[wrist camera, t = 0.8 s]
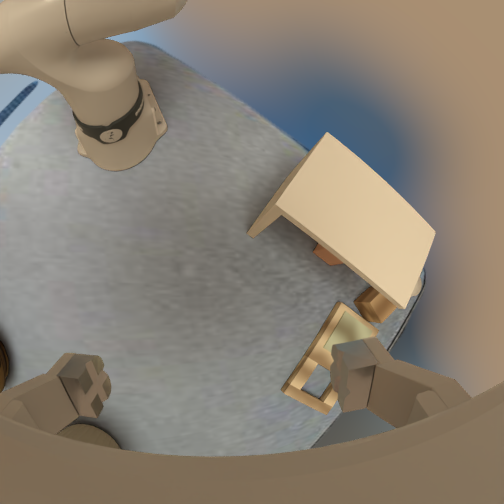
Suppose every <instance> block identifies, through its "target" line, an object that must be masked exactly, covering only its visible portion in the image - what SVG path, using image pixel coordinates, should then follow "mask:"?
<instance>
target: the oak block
mask: <svg viewBox="0 0 504 504" xmlns="http://www.w3.org/2000/svg"><path fill="white" fill-rule="evenodd" d="M354 304H355V305H356V307H357V309H358V310H359V312H360V314H361V315H362V317H363V319H365V320H366V321H369V322H376V323H382V322H383V321H384V320H385V319H386V318H387V317H388V316H389V315H390V314H391V313H392V312H393V311H394V310H395V309H396V308H397V307H396V306H395V305H394V304H393V303H392V302H390V301H389V300H388V299H387V298H386V297H384V296H383V295H382V294H381V293H380V292H378V291H377V290H376V289H375V288H374V287H369V288H368V289H367V290H366V291H365V292H363V293H362V294H361V295H360V296H359V297H358V298H357V299H356V300H355V301H354Z"/></svg>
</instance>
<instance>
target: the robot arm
mask: <svg viewBox="0 0 504 504" xmlns="http://www.w3.org/2000/svg"><path fill="white" fill-rule="evenodd" d="M186 2H187V0H4V1H3V2H2V3H0V74H8V73H13V74H22V75H28V76H31V77H34V78H37V79H39V80H42V81H44V82H46V83H48V84H50V85H51V86H53V87H55V88H56V89H57V90H58V91H60V93H61V94H62V95H63V96H64V98H65V99H66V101H67V102H68V104H69V105H70V107H71V108H72V111H73V116H74V119H75V122H76V125H77V127H76V130H75V134H76V136H77V138H78V140H79V143H78V152H79V154H80V155H82V156H84V157H88V158H90V159H91V160H92V161H93V162H94V163H95V164H96V165H97V166H99V167H100V168H103V169H105V170H110V171H120V170H125V169H128V168H131V167H133V166H135V165H137V164H138V163H140V162H141V161H142V160H143V159H145V158H146V157H147V155H148V154H149V153H150V152H151V150H152V148H153V147H154V145H155V143H156V141H157V140H158V139H159V138H160V137H161V136H162V135H163V134H165V132H166V131H167V129H168V128H167V124H166V122H165V120H164V117H163V115H162V113H161V111H160V108H159V106H158V104H157V101H156V99H155V97H154V95H153V92H152V90H151V88H150V85H149V83H148V81H147V80H143V79H139V77H138V76H137V74H136V69H135V63H134V58H133V55H132V54H131V52H130V51H129V50H128V49H127V48H126V47H125V46H124V45H122V44H121V43H119V42H117V41H114V40H109V39H104V38H108V37H111V36H115V35H119V34H123V33H128V32H132V31H136V30H139V29H142V28H145V27H148V26H151V25H154V24H157V23H159V22H162V21H165V20H168V19H171V18H174V17H175V16H176V15H177V14H178V13H179V12H180V10H181V9H182V8H183V7H184V5H185V4H186ZM158 123H161V124H158ZM331 356H332V358H333V360H334V362H333V363H332V364H331V365H330V378H331V384H332V387H333V390H334V391H335V392H337V393H338V398H337V400H338V402H339V405H340V407H341V410H342V412H349V411H354V410H359V409H364V408H367V409H368V410H370V411H371V412H373V413H374V414H376V415H377V416H379V417H380V418H382V419H383V420H385V421H386V422H388V423H389V424H391V425H392V426H394V427H395V428H396V429H393V430H390V431H387V432H383V433H380V434H376V435H373V436H369V437H365V438H362V439H357V440H353V441H349V442H344V443H340V444H335V445H330V446H325V447H320V448H313V449H307V450H300V451H293V452H285V453H276V454H265V455H250V456H222V457H205V456H178V455H164V454H153V453H144V452H136V451H129V450H122V449H116V448H110V447H105V446H100V445H95V444H90V443H86V442H82V441H77V440H73V439H70V438H66V437H62V436H59V435H55V434H56V433H58V432H59V431H60V430H62V429H63V428H64V427H66V426H67V425H68V424H70V423H71V422H72V421H74V420H75V419H76V418H78V417H79V415H80V416H86V417H93V418H98V416H99V414H100V412H101V411H102V409H103V407H104V406H103V403H102V402H103V401H105V400H107V399H108V397H109V395H110V393H111V382H110V379H109V376H108V375H107V374H106V373H105V372H104V371H103V368H104V363H103V361H102V359H101V358H100V357H99V356H97V355H86V354H76V353H64V354H63V356H62V357H61V358H60V359H59V360H58V361H57V362H56V363H55V364H54V366H53V367H52V368H51V369H50V370H49V371H48V372H47V374H42V375H40V376H37V377H35V378H33V379H31V380H28V381H26V382H24V383H22V384H19V385H17V386H15V387H13V388H10V389H8V390H6V391H3V392H1V393H0V504H504V381H503V382H501V383H500V384H498V385H496V386H494V387H493V388H491V389H489V390H487V391H485V392H483V393H481V394H479V395H477V396H475V397H474V398H471V397H470V395H468V393H467V392H466V391H465V390H464V389H463V388H462V387H461V386H460V384H459V383H458V382H457V381H456V380H455V379H452V378H449V377H446V376H443V375H440V374H437V373H434V372H432V371H429V370H426V369H423V368H420V367H417V366H415V365H412V364H409V363H406V362H403V361H400V360H394V359H393V358H392V357H391V355H390V354H389V353H388V352H387V350H386V349H385V348H384V346H383V345H382V344H381V343H380V341H379V340H378V339H377V338H376V337H374V336H373V337H368V338H364V339H360V340H355V341H350V342H345V343H339V344H334V345H332V350H331Z"/></svg>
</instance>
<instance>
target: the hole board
mask: <svg viewBox="0 0 504 504" xmlns="http://www.w3.org/2000/svg"><path fill="white" fill-rule="evenodd" d="M378 331H379V330H378V329H376V328H375V327H374V326H372V325H371V324H370V323H369V322H367V321H366V320H365V319H363V318H362V317H361V316H359V315H358V314H357V313H355V312H354V311H353V310H351V309H350V308H349V307H347V306H346V305H345V304H343V303H342V302H337V303H336V305H335V306H334V308H333V310H332V311H331V313H330V315H329V316H328V318H327V320H326V321H325V323H324V325H323V326H322V328H321V330H320V331H319V333H318V334H317V336H316V338H315V339H314V341H313V342H312V344H311V345H310V347H309V348H308V350H307V352H306V353H305V355H304V356H303V358H302V359H301V361H300V362H299V364H298V365H297V367H296V368H295V370H294V371H293V373H292V374H291V376H290V377H289V378H288V380H287V381H286V383H285V384H284V386H283V387H282V388H281V391H282V392H283V393H285V394H286V395H288V396H290V397H292V398H294V399H296V400H298V401H300V402H302V403H304V404H305V405H307V406H309V407H311V408H313V409H315V410H317V411H319V412H321V413H324V414H326V415H327V414H328V412H329V411H330V409H331V408H332V407H333V405H334V404H335V402H336V401H337V398H338V393H337V392H335V391H334V390H333V387H332V384H331V382H330V384H329V385H328V387H327V388H326V390H325V391H324V393H323V394H322V396H321V397H320V399H318V398H316V397H314V396H312V395H311V394H309V393H307V392H305V391H303V390H301V388H302V387H303V385H304V384H305V383H306V381H307V380H308V378H309V377H310V375H311V374H312V372H313V371H314V369H315V368H316V366H317V365H318V364H319V365H321V366H323V367H324V368H326V369H328V370H329V371H330V365H331V364H332V363H333V362H334V360H333V358H332V356H331V350H332V345H334V344H339V343H345V342H350V341H355V340H360V339H364V338H368V337H373V336H374V337H376V335H377V333H378Z"/></svg>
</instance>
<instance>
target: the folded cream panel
mask: <svg viewBox="0 0 504 504" xmlns="http://www.w3.org/2000/svg"><path fill="white" fill-rule="evenodd" d="M281 215H282V216H284V217H285V218H286V219H288V220H289V221H290V222H292V223H293V224H294V225H296V226H297V227H298V228H300V229H301V230H302V231H303V232H305V233H306V234H307V235H309V236H310V237H311V238H313V239H314V240H315V241H316V242H318V243H319V244H320V245H322V246H323V247H324V248H325V249H327V250H328V251H329V252H330V253H332V254H333V255H334V256H336V257H337V258H338V259H339V260H341V261H342V262H343V263H344V264H346V265H347V266H348V267H349V268H350V269H352V270H353V271H354V272H355V273H357V274H358V275H359V276H360V277H362V278H363V279H364V280H365V281H366V282H368V283H369V284H370V285H371V286H372V287H374V288H375V289H376V290H377V291H378V292H380V293H381V294H382V295H383V296H384V297H386V298H387V299H388V300H389V301H390V302H392V303H393V304H394V305H395V306H396V307H397V308H399V309H405V308H406V305H407V303H408V301H409V299H410V297H411V294H412V292H413V290H414V288H415V285H416V283H417V281H418V278H419V276H420V273H421V271H422V268H423V266H424V263H425V261H426V258H427V255H428V253H429V250H430V247H431V245H432V242H433V239H434V235H435V233H436V232H435V231H434V230H433V229H432V228H431V227H430V225H428V223H427V222H426V221H425V220H424V219H423V218H422V217H421V216H420V215H419V214H418V213H417V212H416V211H415V210H414V209H413V208H412V207H411V206H410V205H409V204H408V203H407V202H406V201H405V200H404V199H403V198H402V197H401V196H400V195H399V194H398V193H397V192H396V191H395V190H394V189H393V188H392V187H391V186H390V185H389V184H388V183H387V182H386V181H385V180H383V179H382V178H381V177H380V176H379V175H378V174H377V173H376V172H375V171H373V170H372V169H371V168H370V167H369V166H368V165H367V164H366V163H364V162H363V161H362V160H361V159H360V158H359V157H357V156H356V155H355V154H354V153H353V152H351V151H350V150H349V149H348V148H347V147H345V146H344V145H343V144H342V143H340V142H339V141H338V140H337V139H335V138H334V137H333V136H332V135H330V134H329V133H328V132H327V133H326V134H325V135H324V136H323V137H322V138H321V139H320V140H319V141H318V143H317V144H316V145H315V146H314V147H313V148H312V149H311V150H310V152H309V153H308V154H307V155H306V156H305V157H304V158H303V159H302V161H301V162H300V163H299V164H298V165H297V166H296V167H295V169H294V170H293V171H292V172H291V173H290V174H289V175H288V177H287V178H286V179H285V181H284V182H283V183H282V185H281V186H280V187H279V189H278V190H277V192H276V193H275V194H274V196H273V197H272V199H271V200H270V201H269V203H268V204H267V205H266V207H265V208H264V210H263V211H262V212H261V214H260V215H259V217H258V218H257V219H256V221H255V222H254V224H253V225H252V226H251V228H250V229H249V231H248V232H247V234H248V235H249V236H251V237H252V238H254V237H255V236H257V235H258V234H259V233H260V232H261V231H263V230H264V229H265V228H266V227H267V226H269V225H270V224H271V223H272V222H273V221H275V220H276V219H277V218H278V217H280V216H281Z"/></svg>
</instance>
